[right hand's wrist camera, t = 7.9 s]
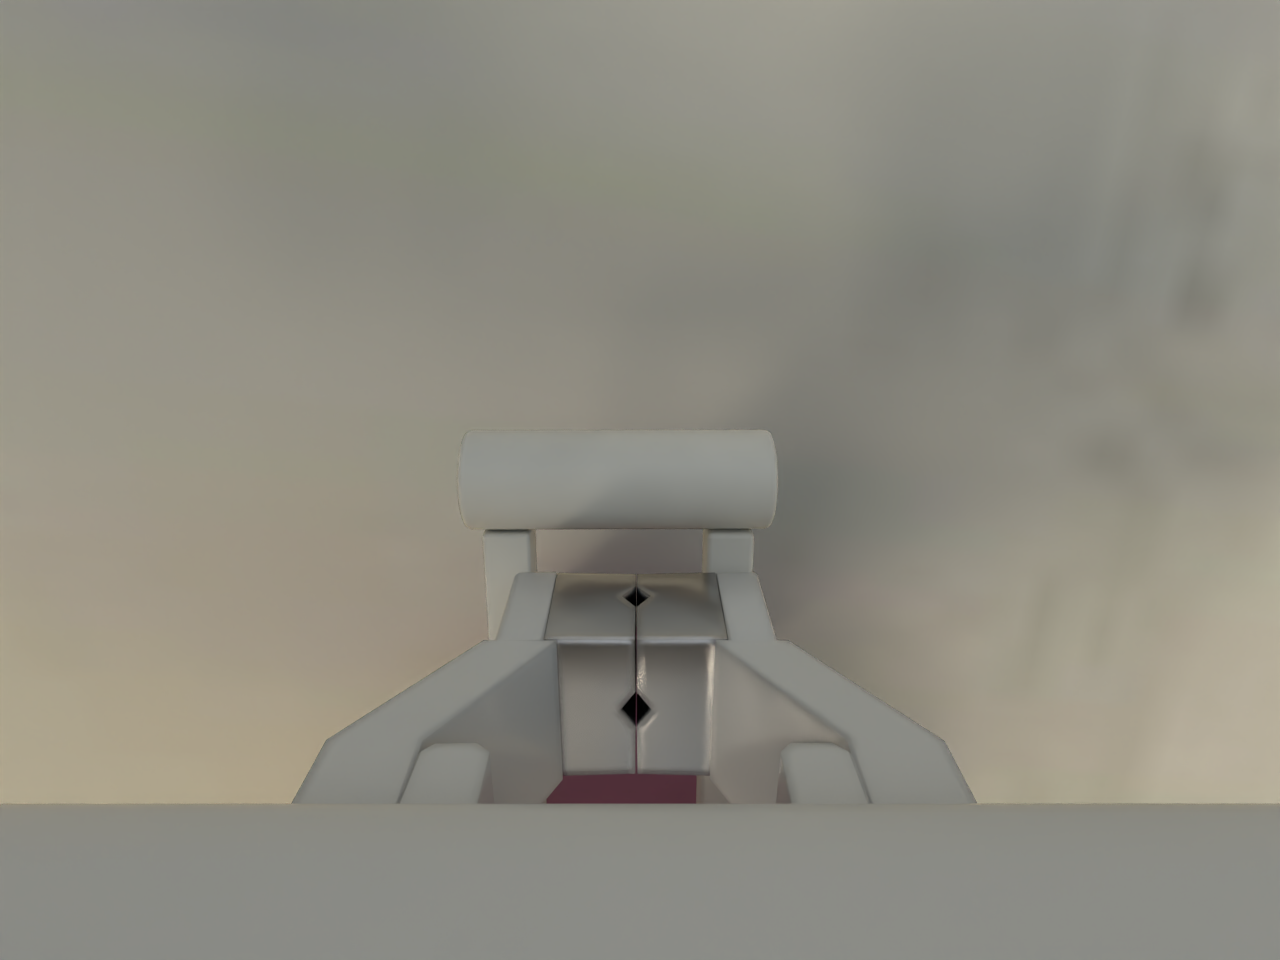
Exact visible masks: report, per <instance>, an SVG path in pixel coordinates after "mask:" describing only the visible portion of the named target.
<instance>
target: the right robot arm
mask: <svg viewBox="0 0 1280 960" xmlns="http://www.w3.org/2000/svg"><path fill="white" fill-rule="evenodd" d="M636 661H637V774H663V775H700V776H710V780H711V781H712V782H713V784H714V785H715V786H716V787H717V788H718V790H719V791H720V792H721V793H722V794H723V796H724V797H725V798H726V799H727V801H728V802H729V803H730V804H543V803H544V801H545V800H546V799H547V798H548V797H549V795H550V794H551V793H552V792H553V791H554V789H555V788H556V787H557V786H558V785H559V784H560V782H561V781H562V780H563V776H572V775H608V774H635V757H636ZM0 960H1280V804H977V802H976V800H975V798H974V796H973V794H972V792H971V791H970V789H969V787H968V785H967V783H966V781H965V779H964V777H963V775H962V773H961V772H960V770H959V768H958V766H957V764H956V762H955V760H954V758H953V756H952V754H951V753H950V751H949V749H948V747H947V745H946V743H945V741H944V740H942V739H941V738H939V737H937V736H936V735H934V734H933V733H931V732H930V731H928V730H927V729H925V728H924V727H922V726H920V725H919V724H917V723H916V722H914V721H913V720H911V719H910V718H908V717H906V716H905V715H903V714H902V713H900V712H899V711H897V710H896V709H894V708H892V707H891V706H889V705H888V704H886V703H885V702H883V701H882V700H880V699H878V698H877V697H875V696H874V695H872V694H871V693H869V692H868V691H866V690H865V689H863V688H861V687H860V686H858V685H857V684H855V683H854V682H852V681H851V680H849V679H847V678H846V677H844V676H843V675H841V674H840V673H838V672H837V671H835V670H833V669H832V668H830V667H829V666H827V665H826V664H824V663H823V662H821V661H819V660H818V659H816V658H815V657H813V656H812V655H810V654H809V653H807V652H806V651H804V650H802V649H801V648H799V647H798V646H796V645H795V644H793V643H792V642H790V641H788V640H777V639H776V636H775V632H774V629H773V625H772V622H771V619H770V615H769V612H768V608H767V605H766V602H765V598H764V595H763V591H762V588H761V585H760V581H759V578H758V574H756V573H755V572H734V573H715V572H712V573H670V574H637V654H636V574H602V573H558V574H557V573H556V572H528V573H518V574H516V575H515V577H514V580H513V583H512V586H511V590H510V593H509V596H508V599H507V603H506V606H505V609H504V612H503V616H502V619H501V622H500V625H499V629H498V632H497V635H496V638H495V640H483V641H482V642H480V643H479V644H477V645H475V646H474V647H472V648H471V649H469V650H468V651H466V652H464V653H463V654H461V655H460V656H458V657H456V658H455V659H453V660H452V661H450V662H449V663H447V664H445V665H444V666H442V667H441V668H439V669H437V670H436V671H434V672H433V673H431V674H430V675H428V676H426V677H425V678H423V679H422V680H420V681H419V682H417V683H415V684H414V685H412V686H411V687H409V688H407V689H406V690H404V691H403V692H401V693H400V694H398V695H396V696H395V697H393V698H392V699H390V700H389V701H387V702H385V703H384V704H382V705H381V706H379V707H377V708H376V709H374V710H373V711H371V712H370V713H368V714H366V715H365V716H363V717H362V718H360V719H359V720H357V721H355V722H354V723H352V724H351V725H349V726H347V727H346V728H344V729H343V730H341V731H340V732H338V733H336V734H335V735H333V736H332V737H330V738H328V739H327V740H326V741H325V743H324V745H323V747H322V749H321V751H320V752H319V754H318V756H317V758H316V760H315V761H314V763H313V765H312V767H311V769H310V770H309V772H308V774H307V776H306V778H305V780H304V781H303V783H302V785H301V787H300V789H299V790H298V792H297V794H296V796H295V798H294V800H293V801H292V803H291V804H0Z"/></svg>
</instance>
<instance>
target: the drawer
mask: <svg viewBox="0 0 1280 960" xmlns="http://www.w3.org/2000/svg"><path fill="white" fill-rule="evenodd" d="M457 492H458V503H459V509H460V513H461V517H462V520H463V522H464V525H465V526H466V527H467V528H470V529H472V530H485V532H484V534H483V537H482V542H483V558H484V574H485V590H486V606H487V622H488V638H489V640H495V638H496V635H497V632H498V629H499V625H500V622H501V619H502V616H503V612H504V609H505V606H506V603H507V599H508V596H509V593H510V590H511V586H512V583H513V580H514V577H515V575H516V574H518V573H528V572H537V558H536V534H535V529H703V556H702V573H712V572H715V573H734V572H753V554H754V535H753V533H752V531H751V529H765V528H767V527H769V526H770V525H771V524H772V521H773V519H774V515H775V511H776V505H777V494H778V465H777V455H776V448H775V444H774V440H773V438H772V435H771V433H770V432H769V431H766V430H471V431H469V432H467V433H465V435H464V437H463V439H462V442H461V446H460V450H459V456H458V466H457ZM636 654H637V626H636ZM543 804H730V803H729V802H728V801H727V799H726V798H725V797H724V796H723V794H722V793H721V792H720V791H719V790H718V788H717V787H716V786H715V785H714V784H713V782H712V781H711V780H710V776H700V775H663V774H637V661H636V757H635V774H608V775H572V776H563V780H562V781H561V782H560V784H559V785H558V786H557V787H556V788H555V789H554V791H553V792H552V793H551V794H550V795H549V797H548V798H547V799H546V800H545V801H544V803H543Z"/></svg>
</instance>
